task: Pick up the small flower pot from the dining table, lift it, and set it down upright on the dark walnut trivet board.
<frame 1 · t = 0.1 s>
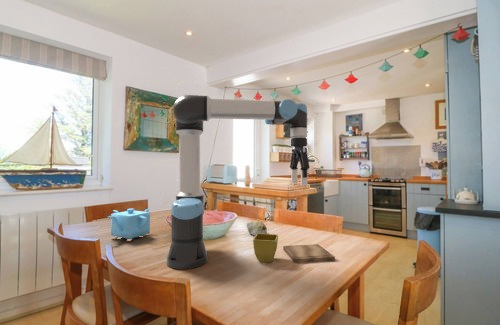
hand: (299, 184, 122), 28 cm above the table, tool pointing down, fingers open, 13 cm apart
grey rounded lump: (256, 235, 140), on the table
teakettle: (129, 238, 135), on the table
trivet: (307, 254, 109), on the table
flower pot: (266, 260, 103), on the table
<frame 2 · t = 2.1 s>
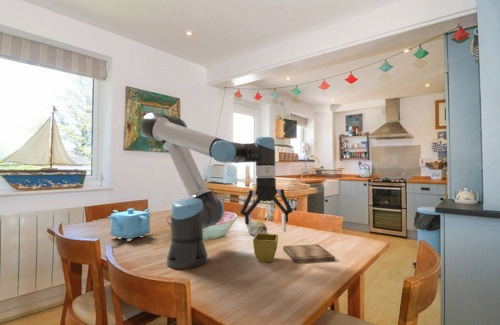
hand: (266, 232, 103), 11 cm above the table, tool pointing down, fingers open, 13 cm apart
nothing on the table moved.
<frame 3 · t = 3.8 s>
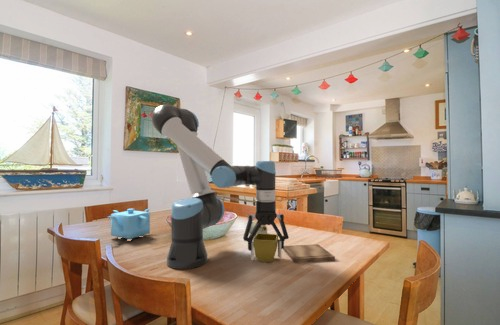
hand: (266, 257, 103), 1 cm above the table, tool pointing down, fingers closed on flower pot, 10 cm apart
flower pot: (266, 260, 103), on the table, touching gripper
everything else where it was.
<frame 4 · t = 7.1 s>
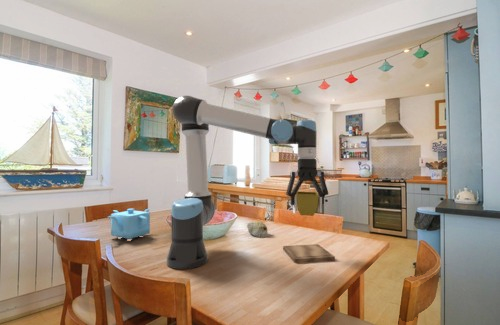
hand: (307, 212, 109), 17 cm above the table, tool pointing down, fingers closed on flower pot, 10 cm apart
flower pot: (306, 215, 109), point 16 cm above the table, touching gripper
everything else where it was.
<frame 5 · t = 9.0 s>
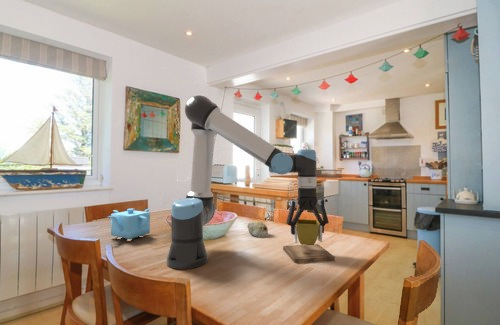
hand: (307, 241, 109), 5 cm above the table, tool pointing down, fingers closed on flower pot, 10 cm apart
flower pot: (307, 244, 109), point 4 cm above the table, touching gripper
when the fingers open (4 cm above the table, at t = 10.4 s): flower pot moves 2 cm, resting on trivet.
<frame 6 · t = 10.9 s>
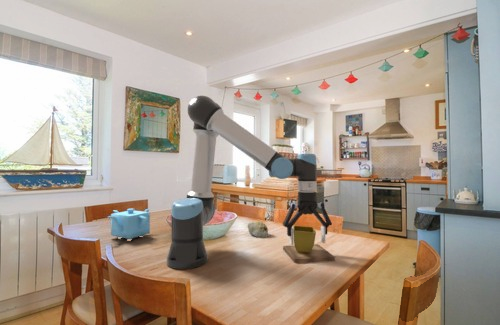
hand: (307, 243, 109), 5 cm above the table, tool pointing down, fingers open, 13 cm apart
flower pot: (303, 251, 109), point 2 cm above the table, touching gripper, trivet
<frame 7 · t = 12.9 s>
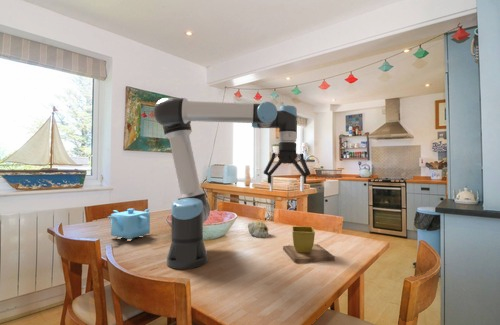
hand: (286, 191, 115), 25 cm above the table, tool pointing down, fingers open, 13 cm apart
flower pot: (303, 251, 108), point 1 cm above the table, touching trivet
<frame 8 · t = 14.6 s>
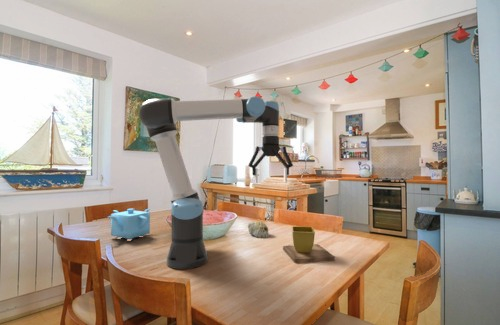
hand: (270, 182, 121), 29 cm above the table, tool pointing down, fingers open, 13 cm apart
at the end: flower pot inside the target area on the trivet (1.9 cm from its centre), point 1.4 cm above the trivet's base; flower pot tilted 0°; the gripper is holding nothing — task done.
